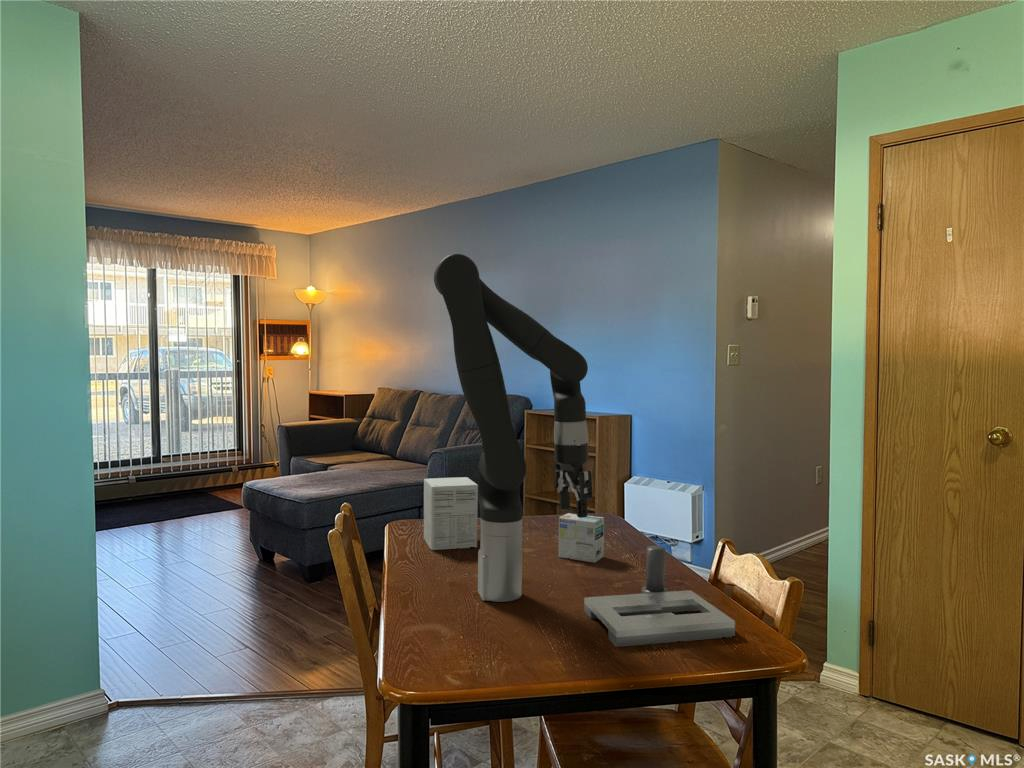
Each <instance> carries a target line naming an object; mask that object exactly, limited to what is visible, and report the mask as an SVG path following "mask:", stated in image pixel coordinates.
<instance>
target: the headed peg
mask: <svg viewBox="0 0 1024 768" xmlns="http://www.w3.org/2000/svg"><path fill="white" fill-rule="evenodd" d="M645 570H646V571H645V572H646V573H645V574H646V575H645V580H646V581H645V585H644V586H642V587H641V592H640V594H643V593H657V592H670V590H669V588H667V587H665V582H666V581H665V580H666V579H665V575H666V572H665V570H666V548H665V547H663V546H661V545H660V546H659V545H649V546H647V547H646V569H645Z"/></svg>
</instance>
